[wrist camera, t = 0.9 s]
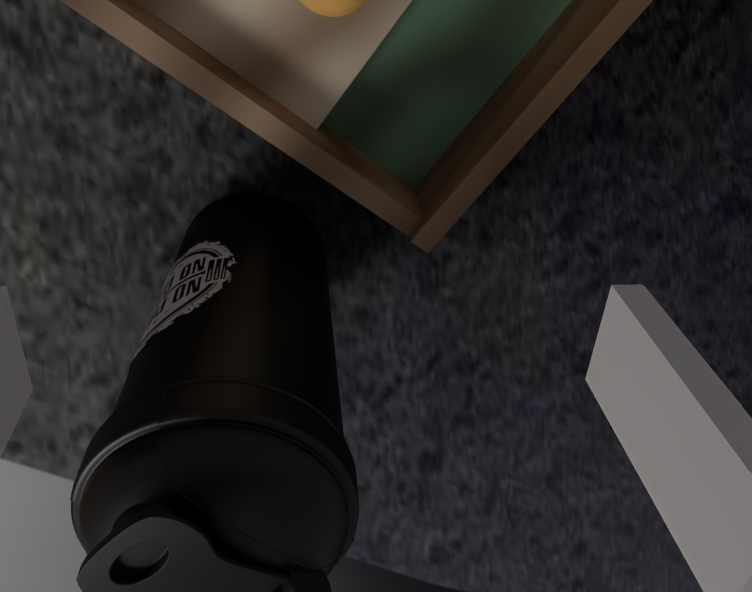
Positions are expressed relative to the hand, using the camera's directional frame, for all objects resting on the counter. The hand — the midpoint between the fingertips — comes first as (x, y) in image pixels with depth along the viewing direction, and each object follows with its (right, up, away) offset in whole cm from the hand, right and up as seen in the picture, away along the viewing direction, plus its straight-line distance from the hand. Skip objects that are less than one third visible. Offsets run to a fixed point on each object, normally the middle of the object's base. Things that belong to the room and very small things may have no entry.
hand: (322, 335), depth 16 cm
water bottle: (-6, +3, +26) cm, 27 cm away
